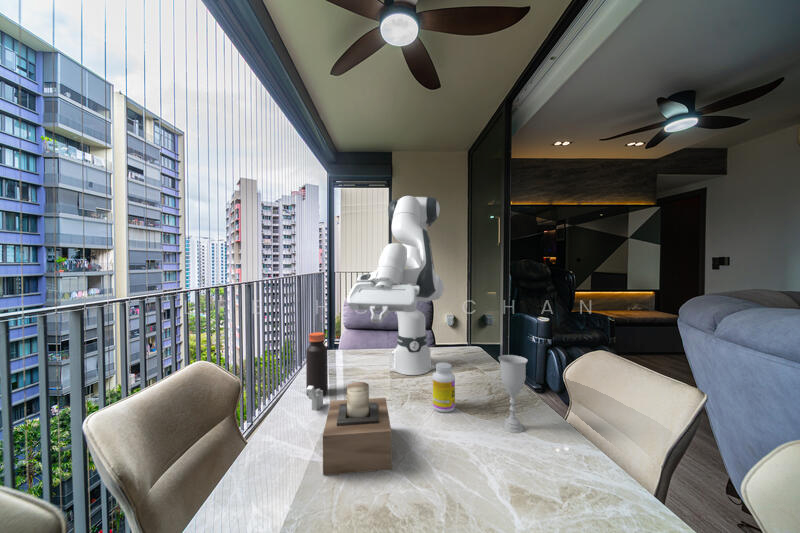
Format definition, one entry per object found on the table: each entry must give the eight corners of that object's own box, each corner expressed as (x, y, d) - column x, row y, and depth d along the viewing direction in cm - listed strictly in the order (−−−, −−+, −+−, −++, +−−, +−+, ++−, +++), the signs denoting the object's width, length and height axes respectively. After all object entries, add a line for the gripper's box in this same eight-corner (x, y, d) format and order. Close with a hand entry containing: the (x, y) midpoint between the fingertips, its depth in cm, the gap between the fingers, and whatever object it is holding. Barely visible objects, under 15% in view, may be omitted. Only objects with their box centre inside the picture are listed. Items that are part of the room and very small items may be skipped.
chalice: (497, 431, 77) (497, 361, 77) (498, 418, 84) (498, 353, 84) (528, 437, 75) (528, 364, 75) (527, 423, 81) (527, 356, 81)
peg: (347, 415, 73) (347, 382, 72) (368, 414, 73) (368, 381, 73) (346, 426, 68) (346, 391, 68) (369, 425, 68) (368, 389, 68)
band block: (331, 432, 77) (330, 398, 77) (385, 428, 79) (385, 395, 79) (322, 475, 62) (322, 432, 62) (391, 469, 63) (391, 428, 63)
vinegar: (326, 388, 105) (326, 330, 105) (328, 396, 98) (328, 335, 98) (306, 391, 103) (305, 332, 102) (306, 399, 96) (306, 336, 96)
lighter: (318, 403, 93) (317, 377, 93) (323, 404, 93) (323, 378, 93) (306, 415, 86) (306, 387, 86) (311, 415, 86) (311, 387, 86)
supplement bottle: (454, 414, 86) (454, 369, 86) (431, 412, 88) (431, 368, 88) (455, 403, 93) (455, 362, 93) (433, 402, 94) (433, 360, 94)
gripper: (422, 290, 91) (415, 329, 82) (358, 289, 96) (345, 326, 87) (419, 276, 87) (411, 316, 77) (353, 276, 92) (338, 313, 83)
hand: (376, 321), depth 82 cm, fingers closed
